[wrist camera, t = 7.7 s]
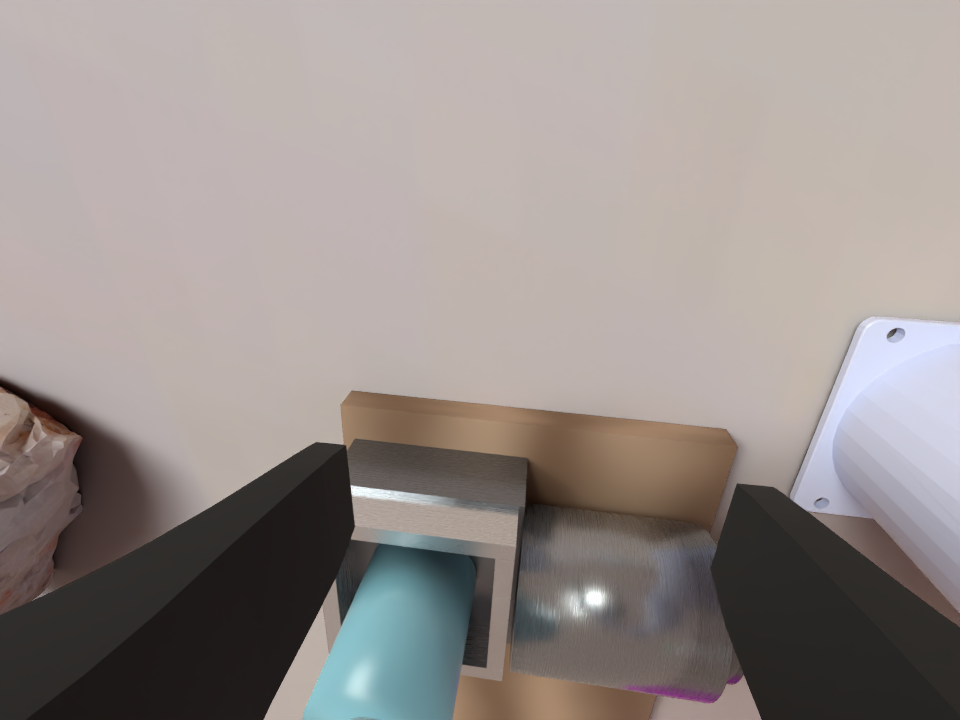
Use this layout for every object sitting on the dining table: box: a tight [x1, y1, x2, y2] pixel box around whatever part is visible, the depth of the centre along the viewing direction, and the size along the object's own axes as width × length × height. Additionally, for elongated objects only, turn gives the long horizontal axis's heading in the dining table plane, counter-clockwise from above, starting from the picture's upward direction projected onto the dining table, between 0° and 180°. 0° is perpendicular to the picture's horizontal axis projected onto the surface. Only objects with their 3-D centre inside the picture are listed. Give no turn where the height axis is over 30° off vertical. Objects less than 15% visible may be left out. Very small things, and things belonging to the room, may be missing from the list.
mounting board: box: [341, 391, 738, 720], centre depth 22 cm, size 15×20×1 cm
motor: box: [322, 438, 744, 703], centre depth 17 cm, size 14×7×6 cm, turn 87°
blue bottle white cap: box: [303, 543, 477, 720], centre depth 15 cm, size 4×4×6 cm
